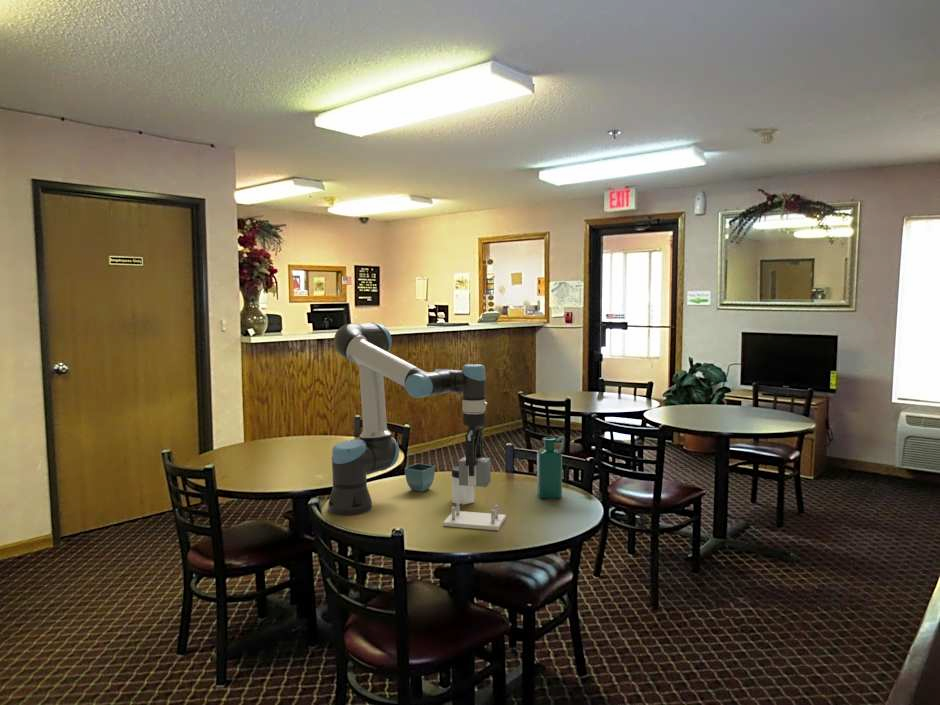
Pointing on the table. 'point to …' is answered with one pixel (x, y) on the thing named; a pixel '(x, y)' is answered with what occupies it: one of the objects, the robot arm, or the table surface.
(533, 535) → the table surface
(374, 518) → the table surface
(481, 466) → the block
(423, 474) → the flower pot
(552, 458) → the pitcher
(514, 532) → the table surface
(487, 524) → the pin tray
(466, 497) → the jar
